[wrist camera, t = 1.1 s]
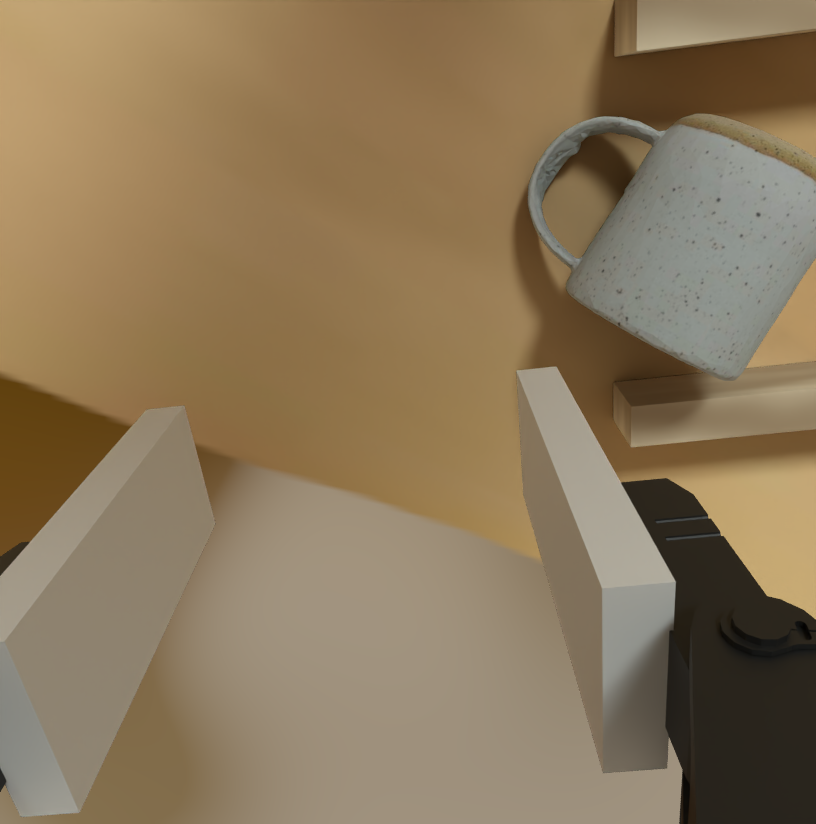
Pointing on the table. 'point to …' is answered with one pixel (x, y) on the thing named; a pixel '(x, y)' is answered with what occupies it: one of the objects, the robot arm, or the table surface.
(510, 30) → the table surface
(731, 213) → the ceramic mug
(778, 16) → the beam channel
